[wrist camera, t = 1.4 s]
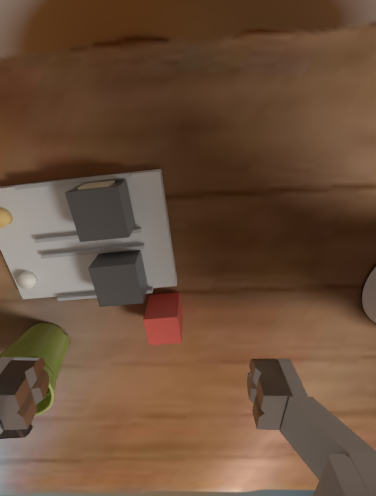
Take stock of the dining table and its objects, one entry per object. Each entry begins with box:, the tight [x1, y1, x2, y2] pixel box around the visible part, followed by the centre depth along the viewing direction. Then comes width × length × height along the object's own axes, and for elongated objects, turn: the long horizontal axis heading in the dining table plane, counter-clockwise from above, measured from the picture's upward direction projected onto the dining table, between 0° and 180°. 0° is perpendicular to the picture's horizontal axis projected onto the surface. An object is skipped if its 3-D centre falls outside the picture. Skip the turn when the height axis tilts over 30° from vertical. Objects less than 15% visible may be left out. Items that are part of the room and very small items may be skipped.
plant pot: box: [0, 323, 69, 416], centre depth 34 cm, size 9×9×9 cm
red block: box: [144, 292, 183, 345], centre depth 33 cm, size 4×4×5 cm
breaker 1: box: [65, 180, 136, 242], centre depth 26 cm, size 5×5×3 cm
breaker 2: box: [88, 250, 148, 307], centre depth 30 cm, size 5×5×3 cm
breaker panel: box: [0, 169, 177, 301], centre depth 30 cm, size 20×14×2 cm
